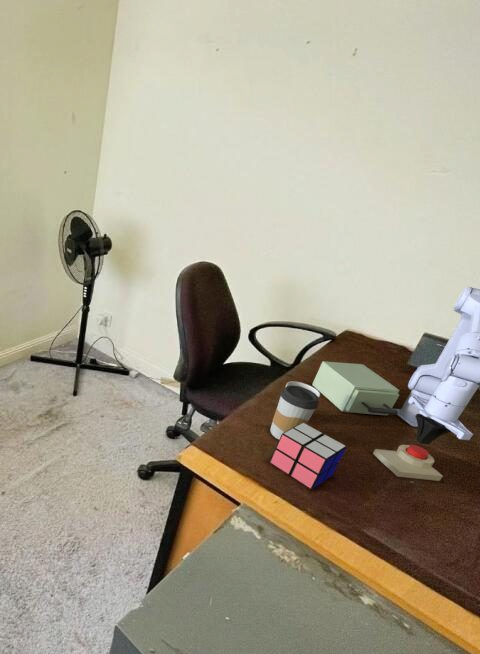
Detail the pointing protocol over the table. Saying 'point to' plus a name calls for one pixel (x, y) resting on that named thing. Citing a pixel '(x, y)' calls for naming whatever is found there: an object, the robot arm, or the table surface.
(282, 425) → the coffee cup
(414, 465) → the control block
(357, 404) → the pull-out drawer
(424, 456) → the button
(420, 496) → the table surface
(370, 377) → the mint drawer box
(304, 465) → the puzzle cube
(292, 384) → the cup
